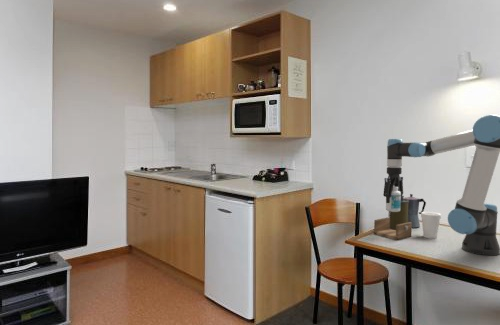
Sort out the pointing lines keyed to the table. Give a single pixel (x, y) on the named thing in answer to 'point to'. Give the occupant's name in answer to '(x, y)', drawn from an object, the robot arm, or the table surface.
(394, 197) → the pill bottle
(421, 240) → the table surface
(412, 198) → the moka pot
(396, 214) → the canister
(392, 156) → the robot arm
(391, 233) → the holder
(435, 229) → the foam cup
